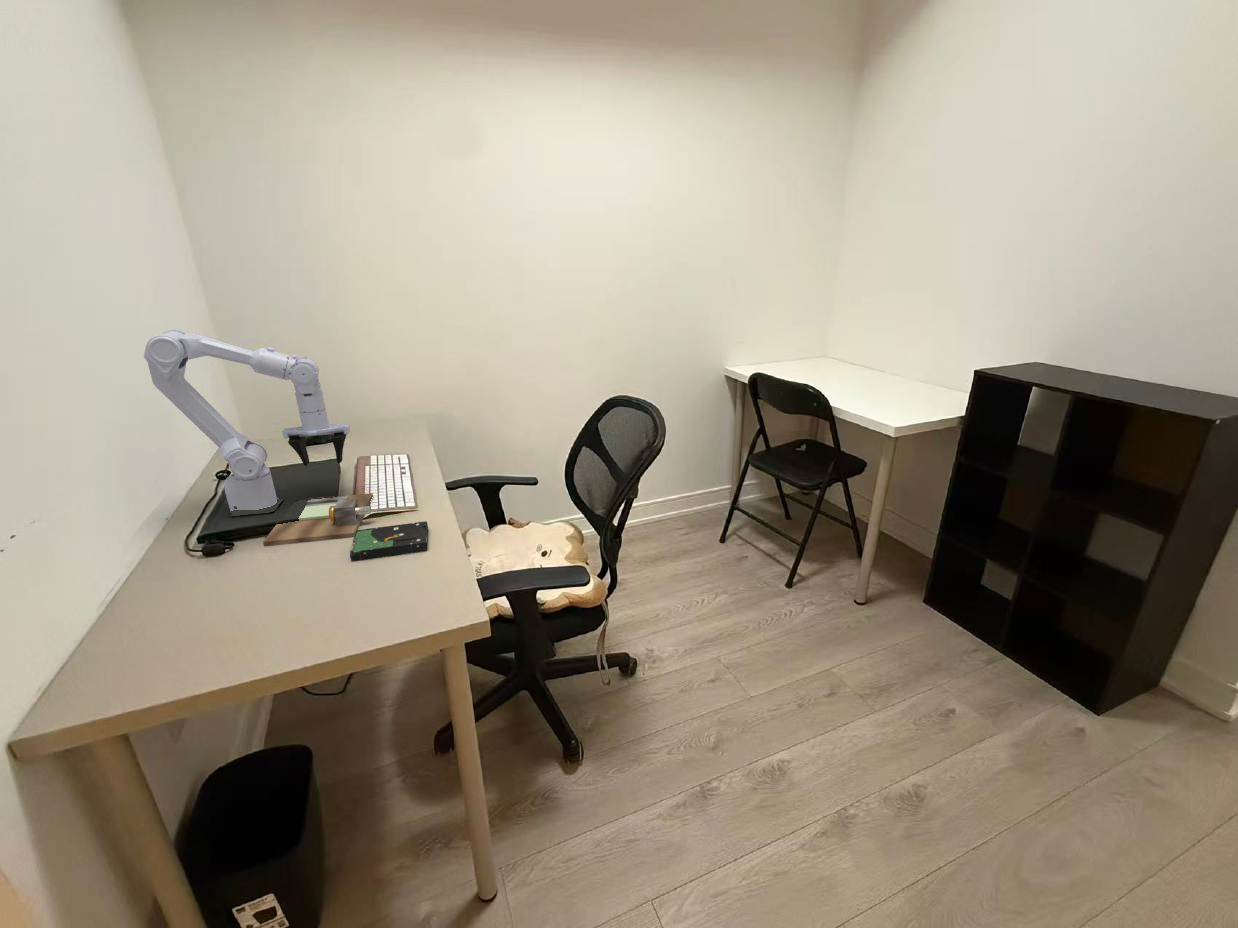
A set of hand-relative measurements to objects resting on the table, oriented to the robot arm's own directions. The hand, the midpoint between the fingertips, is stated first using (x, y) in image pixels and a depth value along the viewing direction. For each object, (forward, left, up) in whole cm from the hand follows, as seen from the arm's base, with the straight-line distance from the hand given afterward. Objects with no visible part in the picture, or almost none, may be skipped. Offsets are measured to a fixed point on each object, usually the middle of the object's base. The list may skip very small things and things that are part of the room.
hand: (323, 462), depth 141 cm
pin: (+9, -18, -8) cm, 21 cm away
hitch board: (+2, -13, -9) cm, 16 cm away
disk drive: (+19, -30, -10) cm, 37 cm away
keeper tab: (+2, -12, -8) cm, 14 cm away
